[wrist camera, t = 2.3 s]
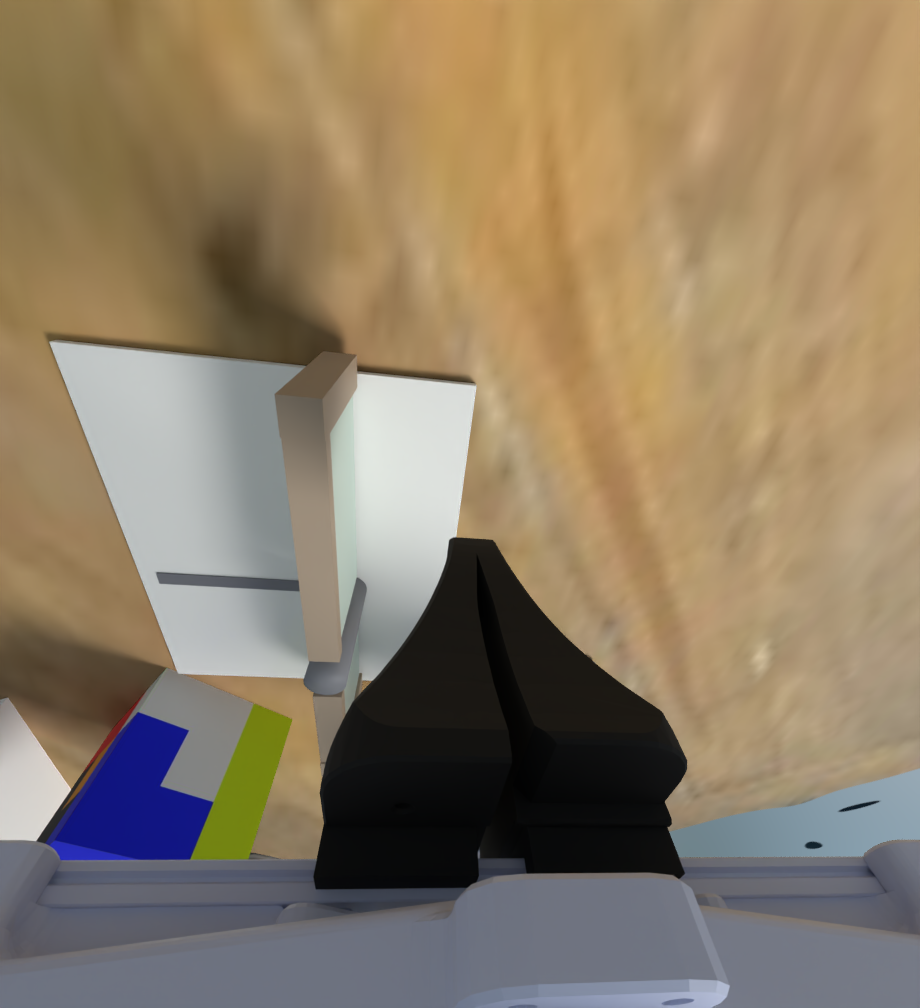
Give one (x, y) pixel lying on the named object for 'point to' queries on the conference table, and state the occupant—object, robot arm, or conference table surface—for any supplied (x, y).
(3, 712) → the triangle block
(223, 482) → the card
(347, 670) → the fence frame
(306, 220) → the conference table surface
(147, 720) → the puzzle toy
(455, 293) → the conference table surface
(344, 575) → the framed panel
